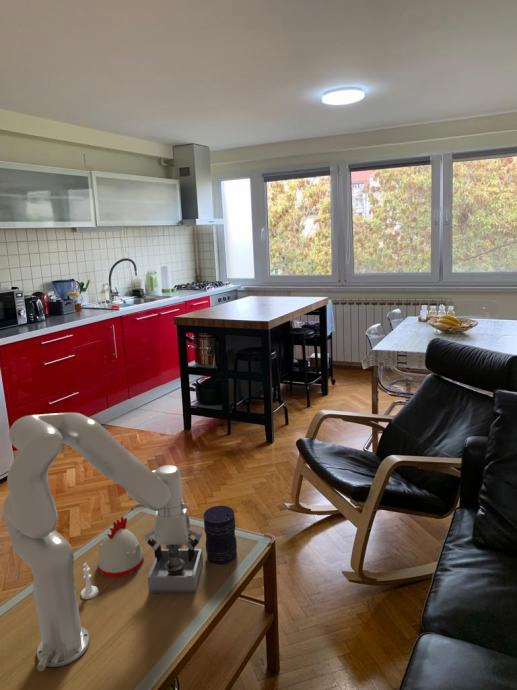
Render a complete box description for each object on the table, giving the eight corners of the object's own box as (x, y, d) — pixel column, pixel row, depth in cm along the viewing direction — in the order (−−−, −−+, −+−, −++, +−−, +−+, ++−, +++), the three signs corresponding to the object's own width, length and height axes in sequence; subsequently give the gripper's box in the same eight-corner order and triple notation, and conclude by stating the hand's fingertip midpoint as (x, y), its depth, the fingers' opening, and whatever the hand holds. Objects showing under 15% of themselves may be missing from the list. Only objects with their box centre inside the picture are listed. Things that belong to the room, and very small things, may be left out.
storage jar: (201, 562, 163) (197, 520, 160) (213, 544, 173) (210, 503, 169) (231, 567, 160) (228, 524, 157) (241, 548, 169) (239, 507, 166)
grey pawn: (187, 568, 159) (184, 533, 157) (183, 581, 154) (179, 545, 151) (169, 568, 160) (165, 533, 157) (163, 580, 154) (160, 545, 152)
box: (195, 592, 150) (194, 577, 149) (149, 592, 151) (147, 577, 150) (203, 562, 163) (201, 548, 162) (160, 563, 164) (159, 549, 163)
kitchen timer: (152, 556, 168) (148, 514, 165) (123, 582, 156) (117, 538, 153) (120, 545, 175) (115, 505, 171) (89, 570, 163) (83, 527, 159)
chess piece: (90, 585, 155) (86, 556, 153) (101, 590, 153) (97, 560, 151) (77, 595, 151) (72, 565, 149) (88, 601, 149) (84, 570, 147)
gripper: (201, 500, 155) (205, 551, 159) (144, 501, 156) (150, 551, 160) (197, 514, 148) (201, 567, 151) (137, 514, 149) (143, 567, 153)
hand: (175, 559), depth 156 cm, fingers open, 9 cm apart
